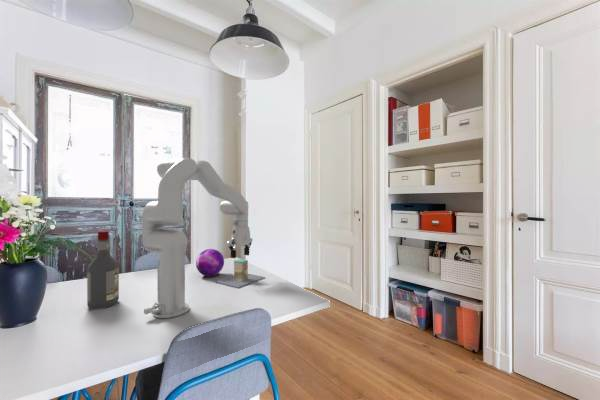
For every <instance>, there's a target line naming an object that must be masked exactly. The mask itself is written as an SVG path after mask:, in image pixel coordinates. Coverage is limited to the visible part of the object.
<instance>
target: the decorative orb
mask: <svg viewBox="0 0 600 400" xmlns="http://www.w3.org/2000/svg"><path fill="white" fill-rule="evenodd" d="M224 265H225V259H224V255H223V253H221V252H220V251H219V250H218V249H214V248H209V249H205V250H203V251H202V252H200V253H199V254H198V256H197V258H196V261H195V266H196V269H197V271H198V273H200V274H201V275H203V276H205V277H213V276H216V275H218V274H220V272H221V271H222V270H223V267H224Z"/></svg>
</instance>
